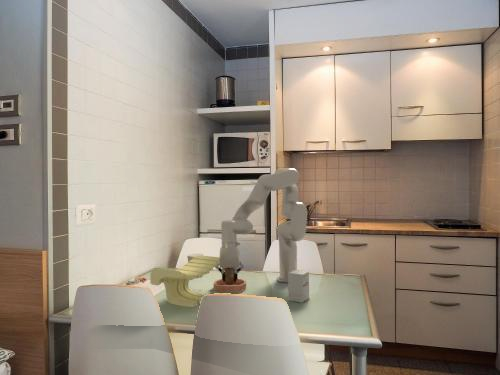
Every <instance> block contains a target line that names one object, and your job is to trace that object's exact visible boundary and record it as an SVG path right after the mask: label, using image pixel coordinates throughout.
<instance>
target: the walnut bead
mask: <svg viewBox="0 0 500 375" xmlns="http://www.w3.org/2000/svg"><path fill="white" fill-rule="evenodd" d="M224 272H225V285H234V284H235V282H234V274H235V270H234V268H225V271H224Z"/></svg>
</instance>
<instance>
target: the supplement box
mask: <svg viewBox="0 0 500 375" xmlns="http://www.w3.org/2000/svg"><path fill="white" fill-rule="evenodd" d="M287 286H288V288H287V289H288V292H287V293H288V301H290V302H298V303H304V302H305V301H307V300H308V299H309V300H310V272H309V270H308V271H307V270H299V269H297V270H294V271H292V272H290V273H288V284H287Z"/></svg>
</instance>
